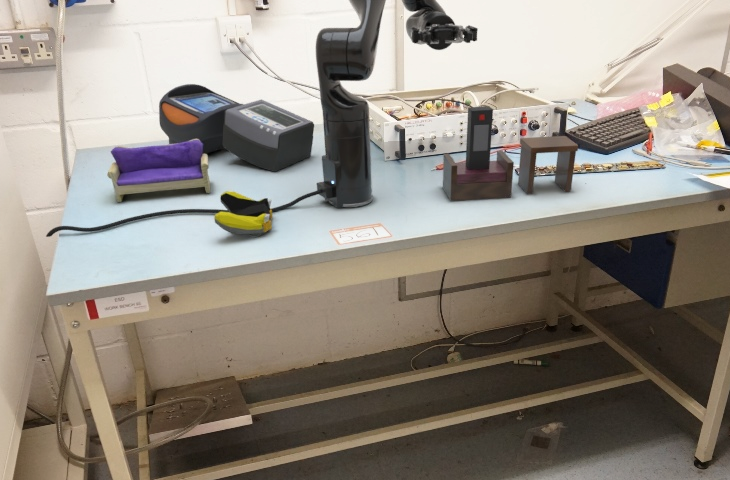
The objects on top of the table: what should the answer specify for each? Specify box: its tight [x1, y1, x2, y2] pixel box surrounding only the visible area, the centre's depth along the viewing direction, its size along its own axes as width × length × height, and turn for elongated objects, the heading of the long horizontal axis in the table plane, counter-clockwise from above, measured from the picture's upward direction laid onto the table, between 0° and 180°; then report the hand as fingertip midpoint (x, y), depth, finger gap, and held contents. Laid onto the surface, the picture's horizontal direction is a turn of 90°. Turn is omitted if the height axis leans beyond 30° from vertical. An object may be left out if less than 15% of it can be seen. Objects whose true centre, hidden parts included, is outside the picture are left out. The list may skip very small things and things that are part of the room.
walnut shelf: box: [517, 135, 579, 195], centre depth 140 cm, size 10×8×10 cm
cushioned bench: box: [442, 150, 515, 202], centre depth 139 cm, size 13×9×8 cm
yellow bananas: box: [213, 190, 273, 238], centre depth 125 cm, size 15×6×10 cm
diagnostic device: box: [158, 83, 315, 172], centre depth 167 cm, size 38×17×22 cm
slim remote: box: [465, 105, 494, 170], centre depth 135 cm, size 4×3×12 cm
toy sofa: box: [106, 139, 211, 203], centre depth 143 cm, size 21×9×10 cm, turn 103°
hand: (449, 38), depth 137 cm, fingers open, 8 cm apart
